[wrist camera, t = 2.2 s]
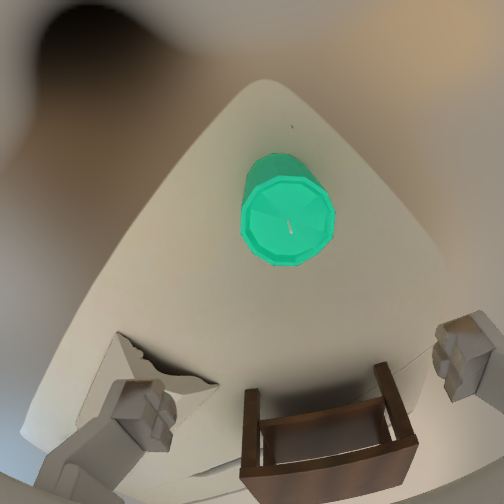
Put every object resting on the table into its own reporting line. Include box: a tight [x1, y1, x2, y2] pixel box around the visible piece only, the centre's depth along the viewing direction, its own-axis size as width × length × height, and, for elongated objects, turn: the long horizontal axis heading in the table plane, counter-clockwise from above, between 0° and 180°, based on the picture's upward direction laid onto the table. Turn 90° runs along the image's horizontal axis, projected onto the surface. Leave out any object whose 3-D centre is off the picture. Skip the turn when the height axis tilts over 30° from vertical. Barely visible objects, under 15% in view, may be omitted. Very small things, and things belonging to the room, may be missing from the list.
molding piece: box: [75, 333, 219, 458], centre depth 44 cm, size 32×12×10 cm
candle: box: [241, 153, 335, 266], centre depth 23 cm, size 6×6×12 cm
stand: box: [239, 362, 419, 504], centre depth 36 cm, size 20×14×14 cm
